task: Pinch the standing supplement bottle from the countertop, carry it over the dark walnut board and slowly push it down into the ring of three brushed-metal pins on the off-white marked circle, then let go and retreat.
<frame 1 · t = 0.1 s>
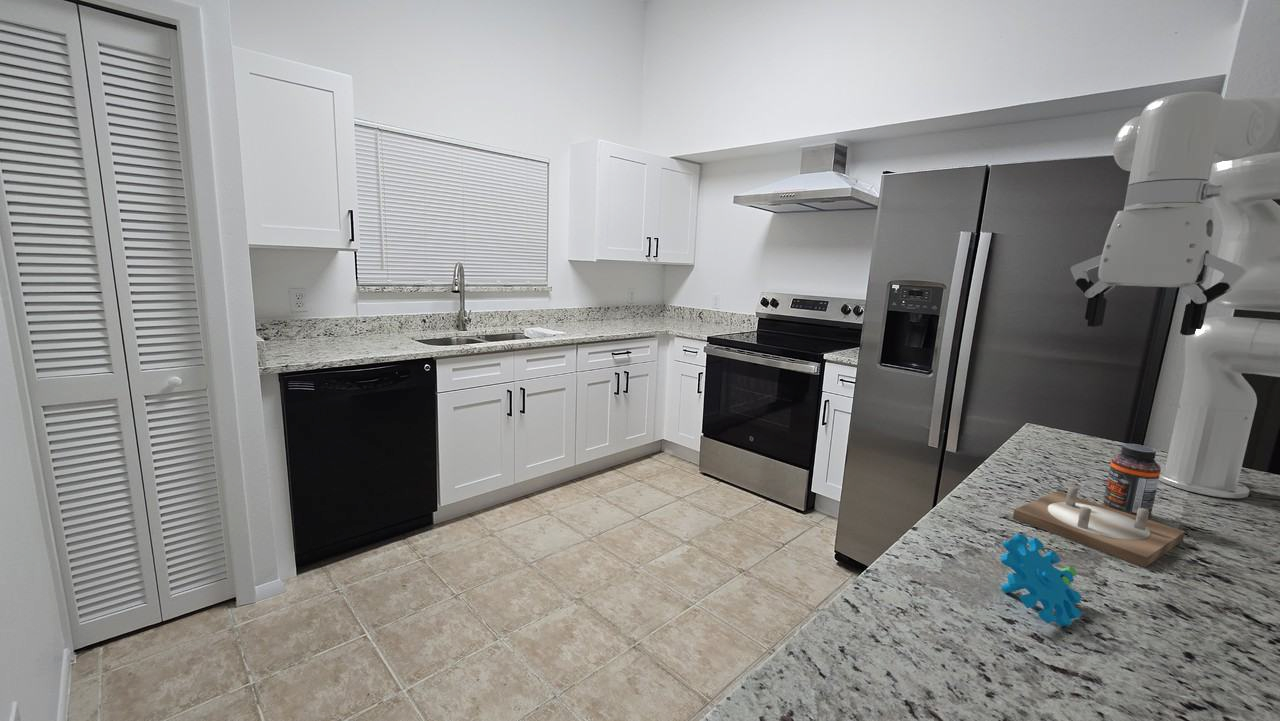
hand: (1138, 330, 72), 31 cm above the countertop, tool pointing down, fingers open, 9 cm apart
gear: (1037, 608, 63), on the countertop
supplement bottle: (1125, 513, 88), on the countertop
pin board: (1094, 529, 82), on the countertop
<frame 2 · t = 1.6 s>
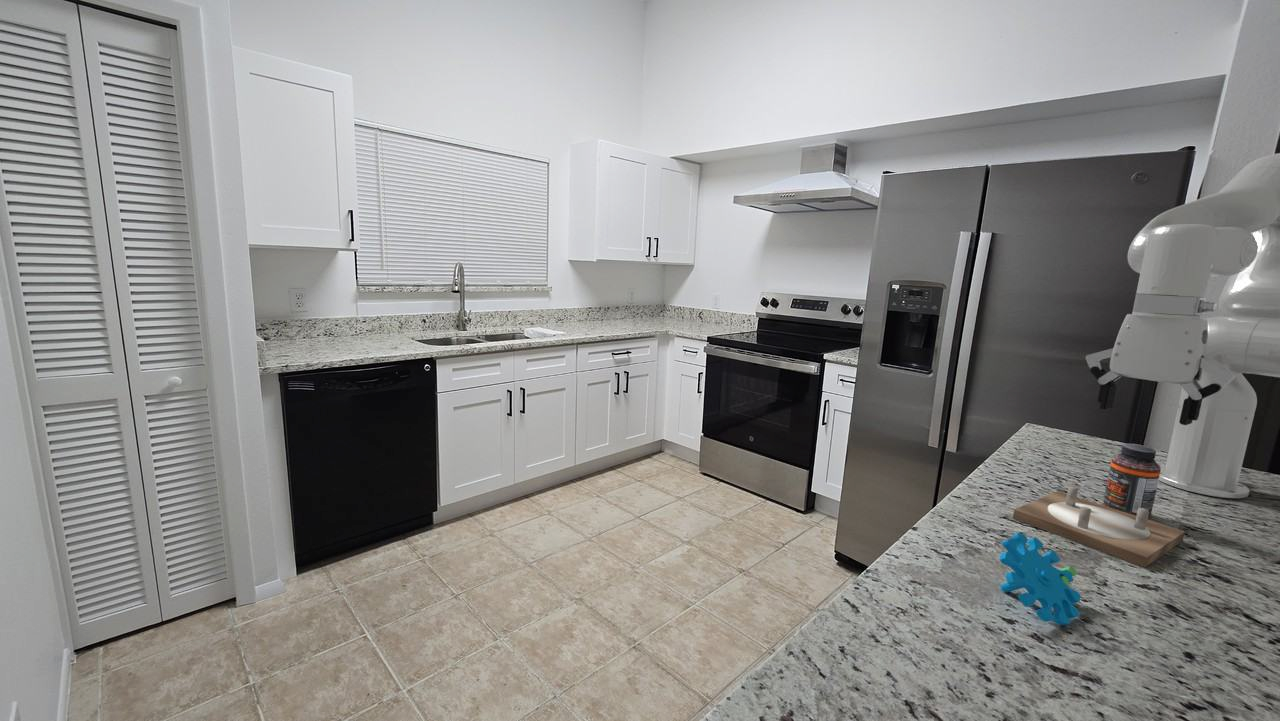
hand: (1143, 415, 85), 17 cm above the countertop, tool pointing down, fingers open, 9 cm apart
nothing on the countertop moved.
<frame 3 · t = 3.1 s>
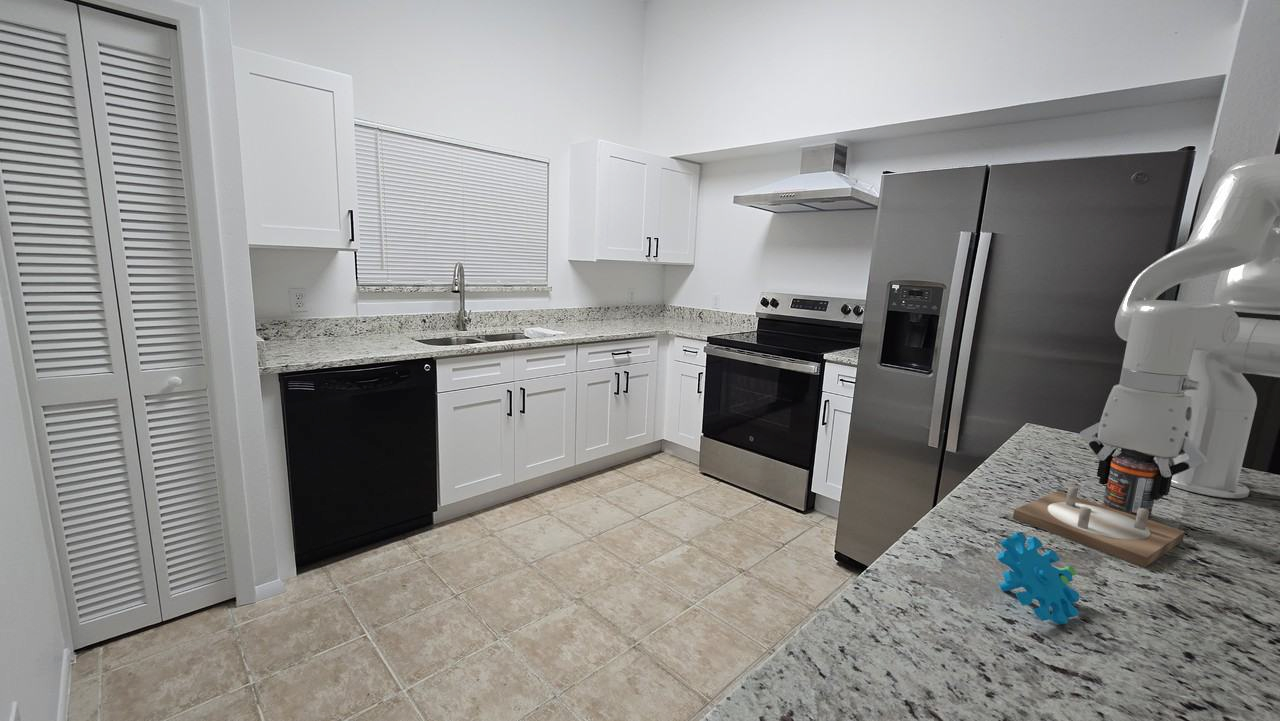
hand: (1130, 489, 87), 4 cm above the countertop, tool pointing down, fingers closed on supplement bottle, 6 cm apart
supplement bottle: (1125, 513, 88), on the countertop, touching gripper
everything else where it was.
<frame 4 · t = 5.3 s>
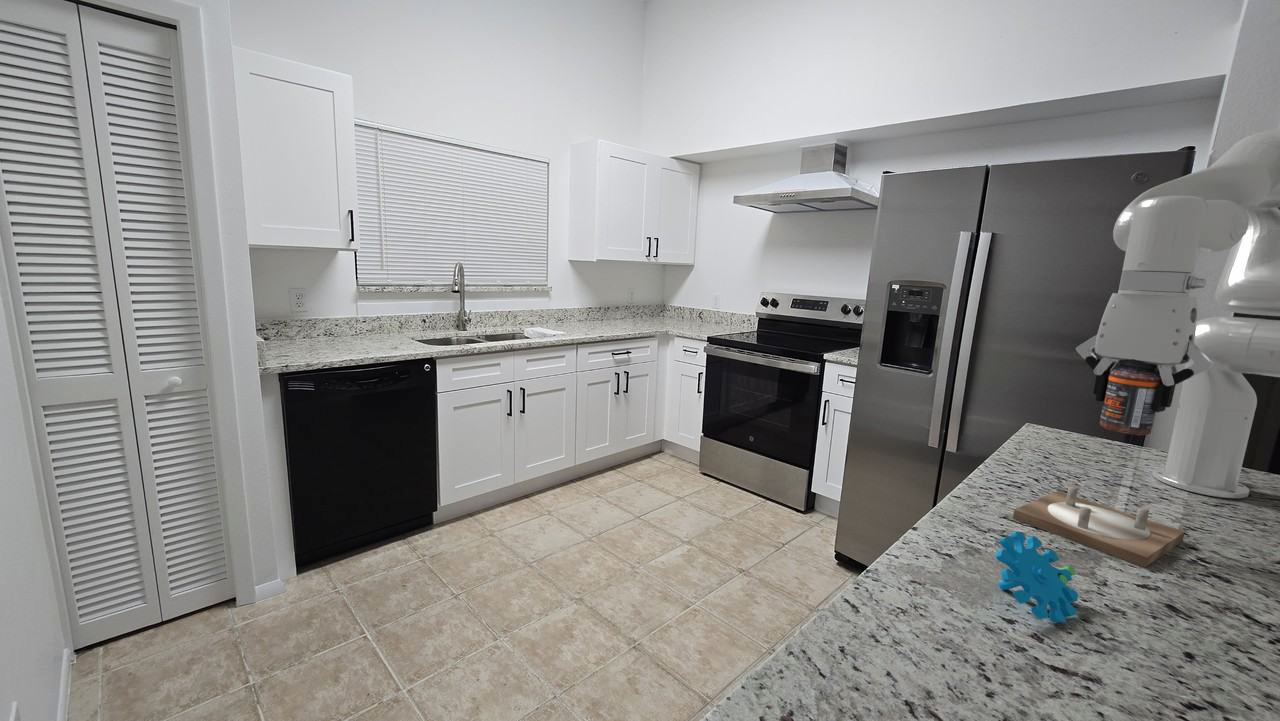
hand: (1129, 404, 81), 19 cm above the countertop, tool pointing down, fingers closed on supplement bottle, 6 cm apart
supplement bottle: (1123, 431, 82), point 15 cm above the countertop, touching gripper
everything else where it was.
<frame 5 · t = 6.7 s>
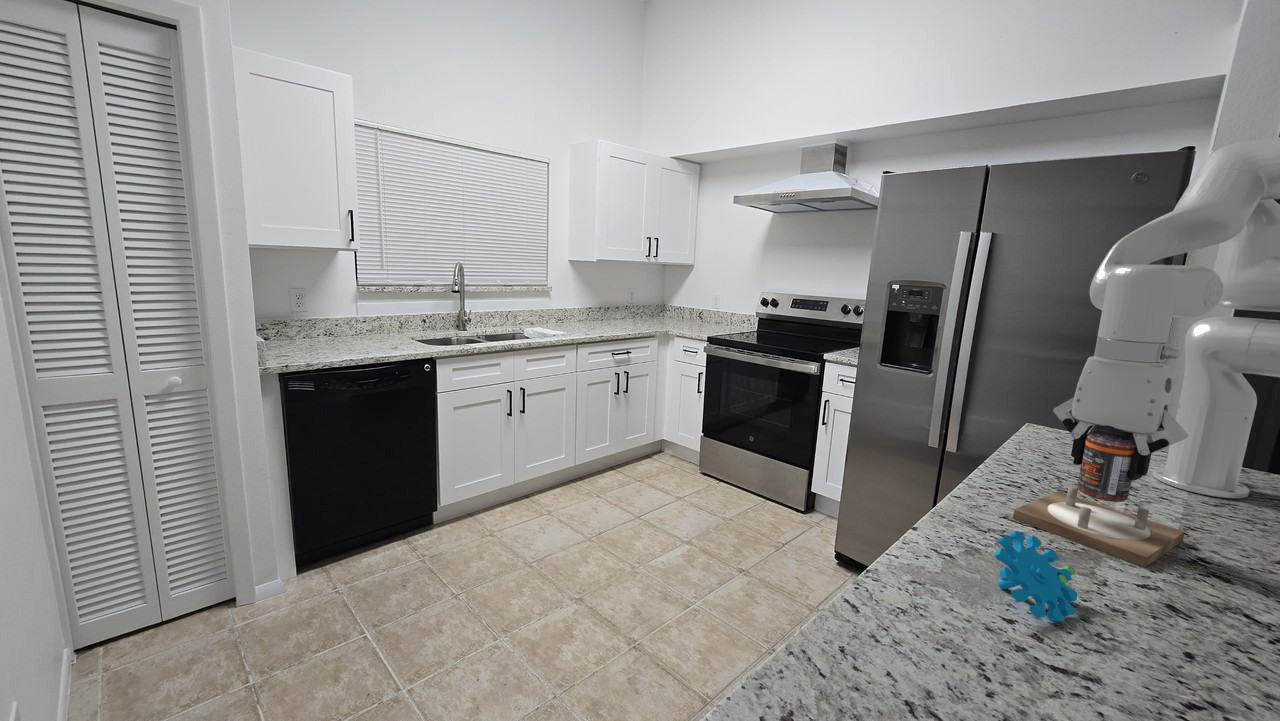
hand: (1106, 469, 80), 10 cm above the countertop, tool pointing down, fingers closed on supplement bottle, 6 cm apart
supplement bottle: (1101, 496, 81), point 5 cm above the countertop, touching gripper
everything else where it was.
when the fingers open (7 cm above the countertop, at t = 7.8 s): supplement bottle moves 1 cm, resting on pin board.
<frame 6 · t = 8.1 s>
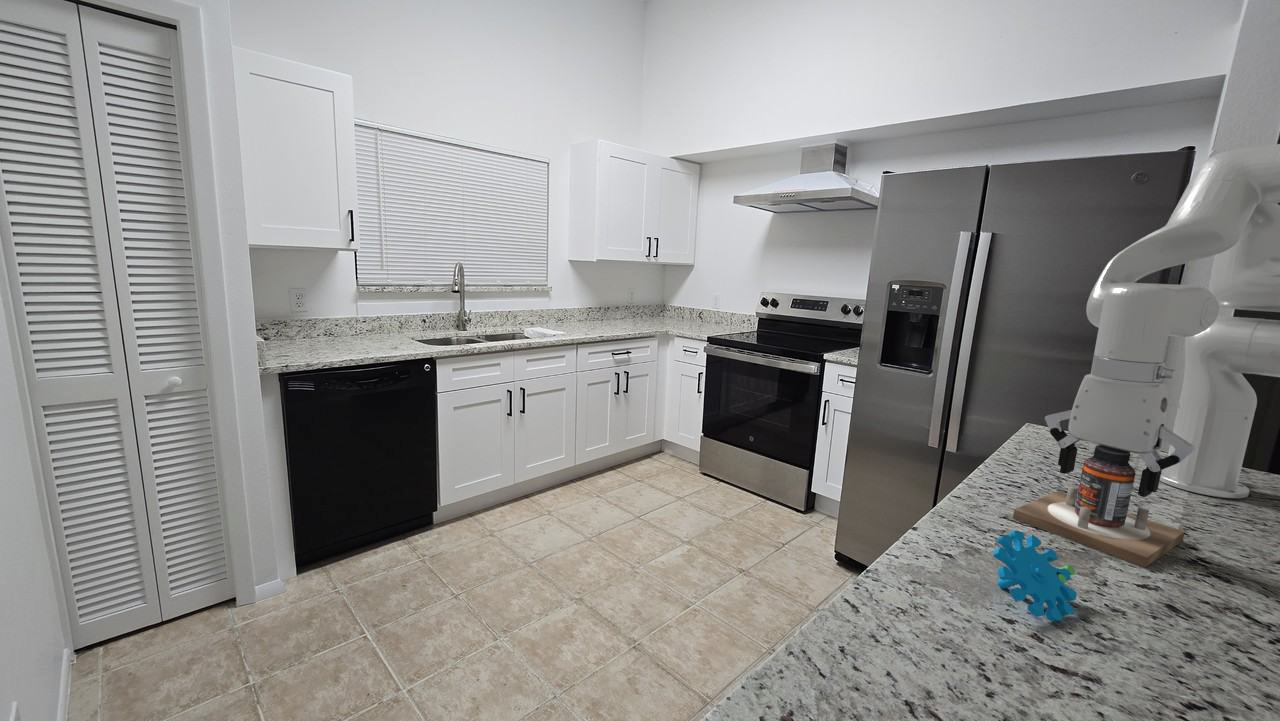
hand: (1103, 482, 81), 8 cm above the countertop, tool pointing down, fingers open, 9 cm apart
supplement bottle: (1098, 520, 82), point 1 cm above the countertop, touching pin board
everything else where it was.
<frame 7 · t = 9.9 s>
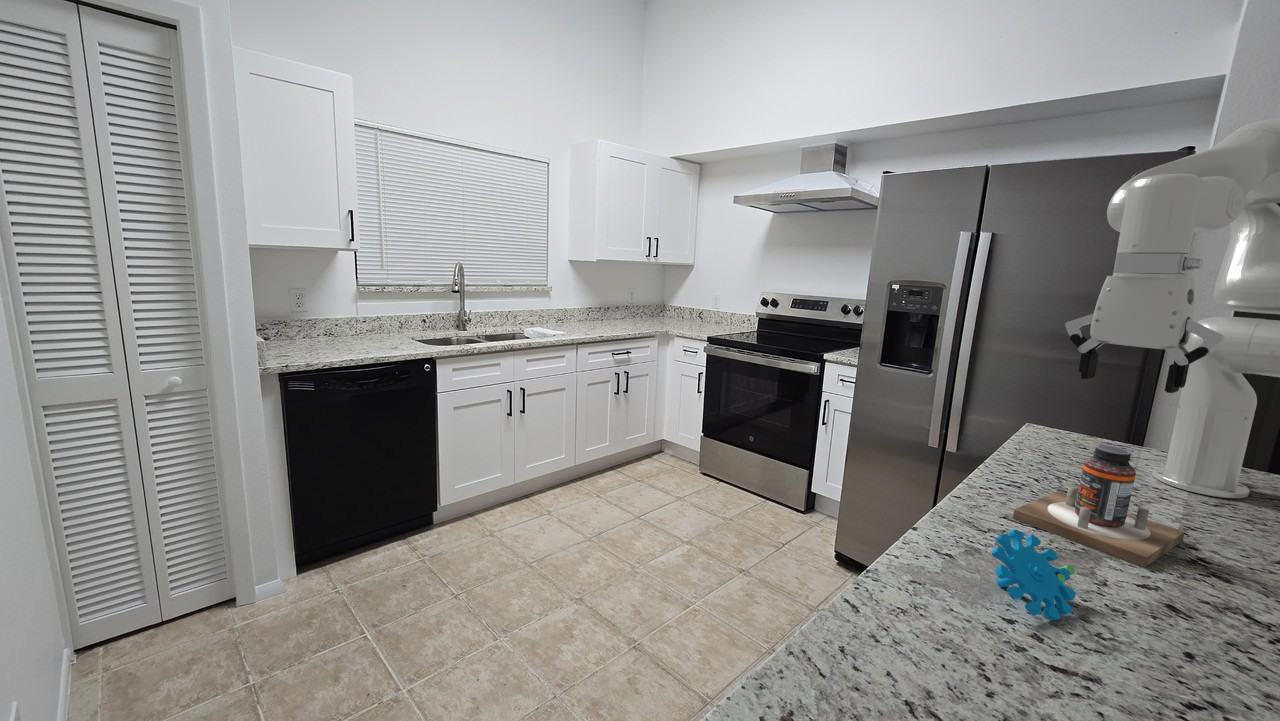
hand: (1127, 384, 79), 23 cm above the countertop, tool pointing down, fingers open, 9 cm apart
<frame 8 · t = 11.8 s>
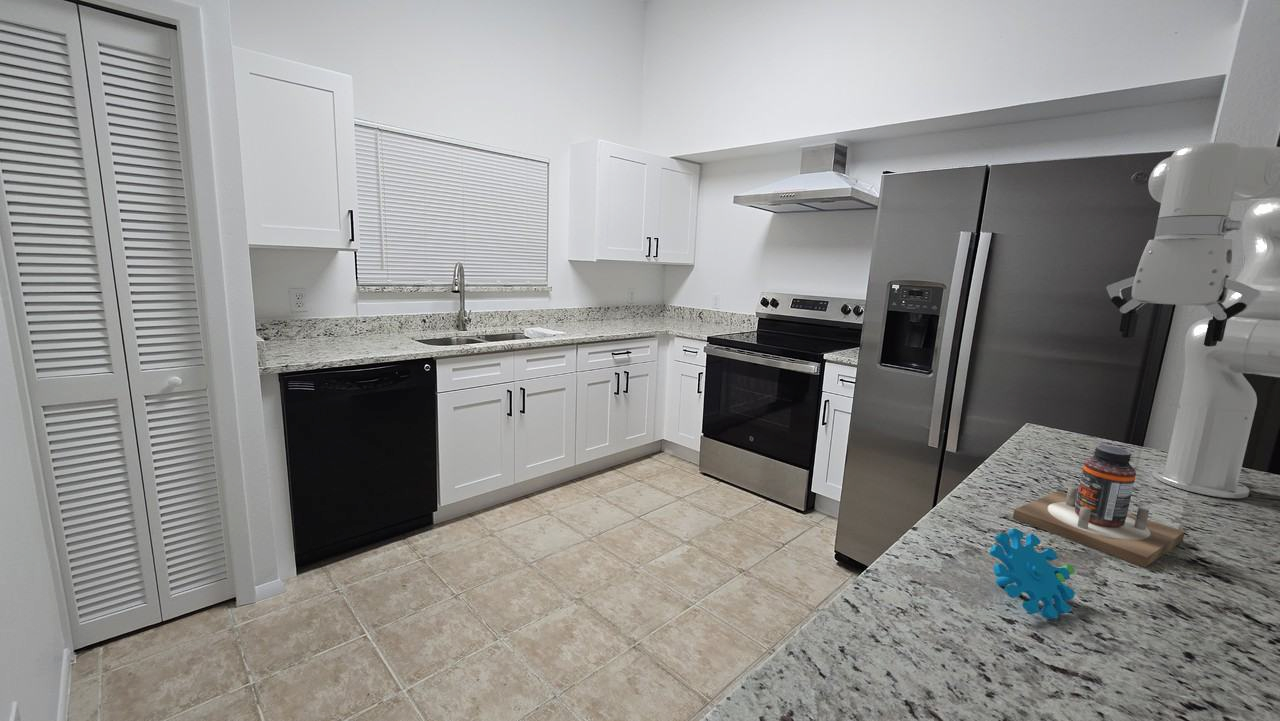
hand: (1166, 341, 85), 28 cm above the countertop, tool pointing down, fingers open, 9 cm apart
at the end: supplement bottle 0.3 cm off-centre on the pin board, point 1.4 cm above the pin board's base; supplement bottle tilted 1°; the gripper is holding nothing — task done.
